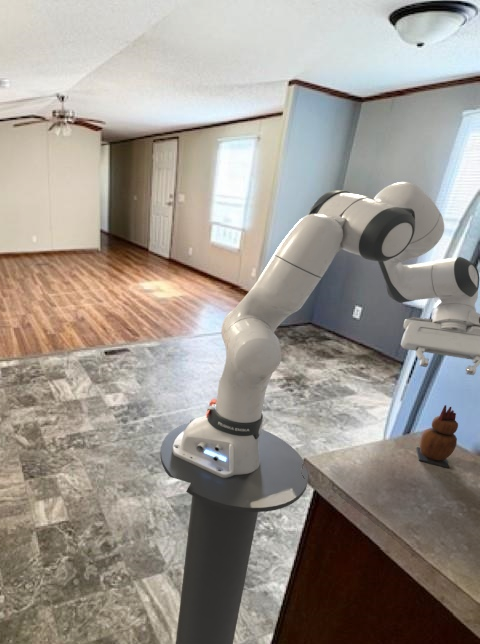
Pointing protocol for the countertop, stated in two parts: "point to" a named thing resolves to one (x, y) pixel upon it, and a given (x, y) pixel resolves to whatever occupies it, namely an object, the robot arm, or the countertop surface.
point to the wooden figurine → (440, 436)
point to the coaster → (435, 462)
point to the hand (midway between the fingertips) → (446, 369)
